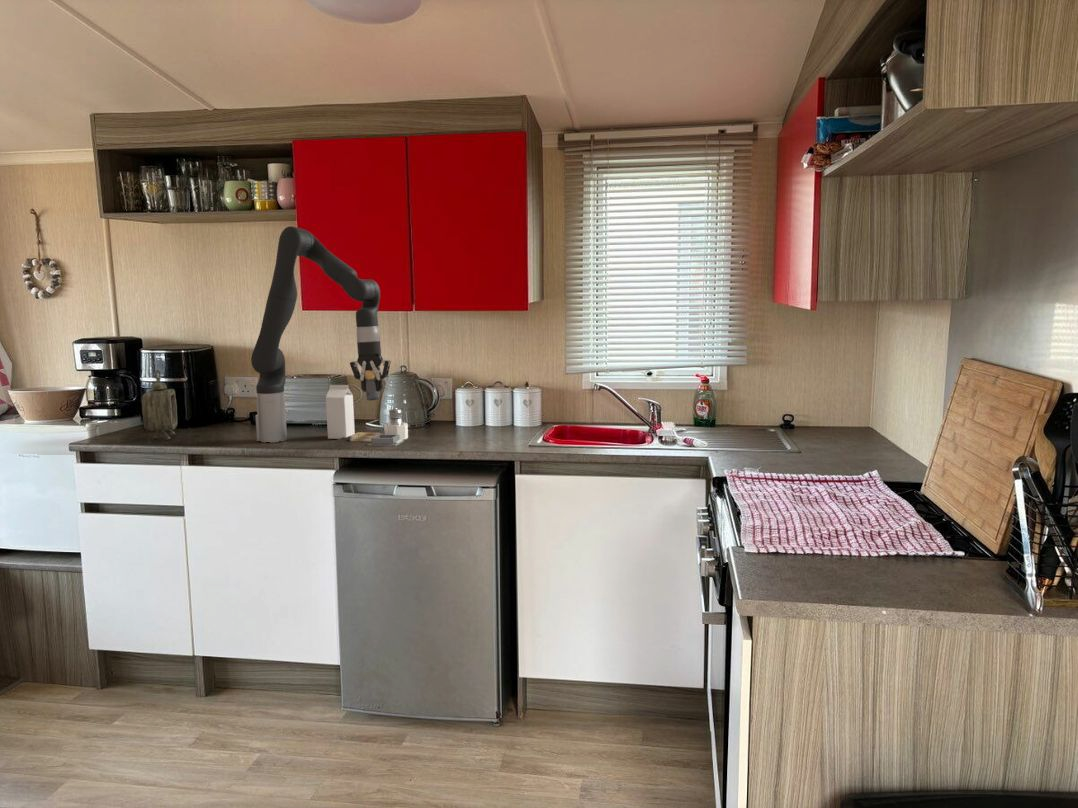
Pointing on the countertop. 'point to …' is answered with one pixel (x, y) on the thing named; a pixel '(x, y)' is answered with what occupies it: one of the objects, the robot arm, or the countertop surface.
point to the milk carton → (339, 412)
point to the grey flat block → (385, 440)
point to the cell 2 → (395, 417)
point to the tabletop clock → (159, 408)
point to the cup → (397, 430)
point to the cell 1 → (371, 385)
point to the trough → (362, 436)
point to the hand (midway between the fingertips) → (372, 391)
